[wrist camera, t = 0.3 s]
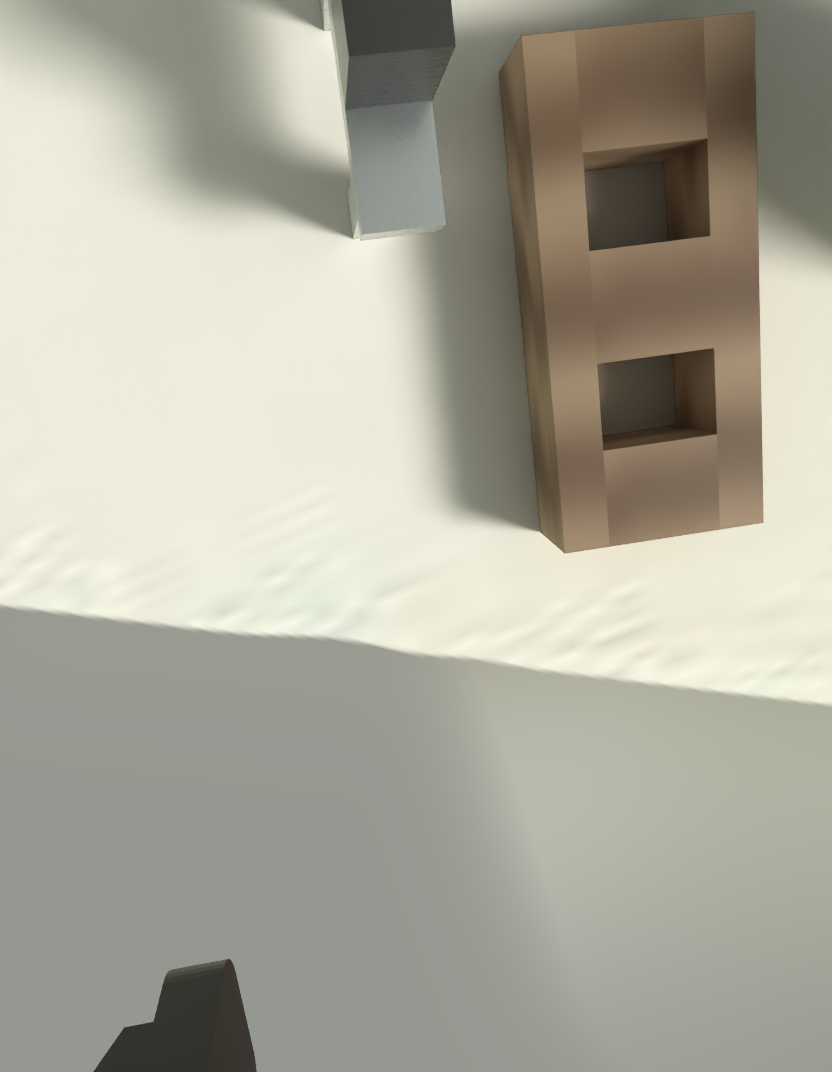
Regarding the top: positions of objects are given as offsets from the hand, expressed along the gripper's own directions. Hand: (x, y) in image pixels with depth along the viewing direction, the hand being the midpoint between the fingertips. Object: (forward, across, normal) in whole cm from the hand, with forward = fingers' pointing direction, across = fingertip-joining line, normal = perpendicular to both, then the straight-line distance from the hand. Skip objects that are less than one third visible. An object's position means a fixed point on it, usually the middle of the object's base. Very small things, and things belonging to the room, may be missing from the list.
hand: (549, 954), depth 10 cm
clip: (+28, -2, -16) cm, 32 cm away
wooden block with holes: (+28, -12, -8) cm, 31 cm away
